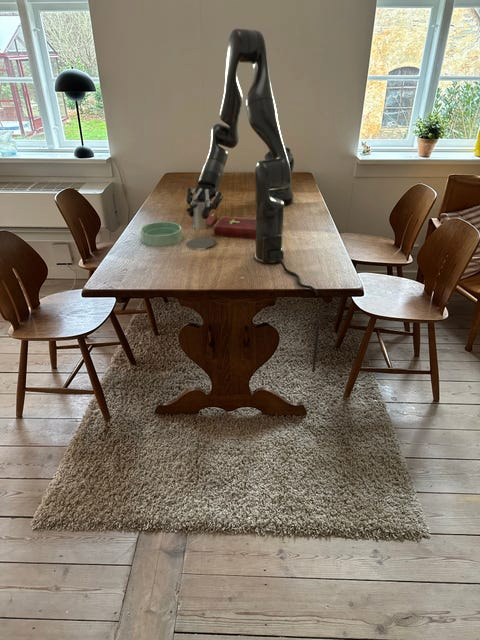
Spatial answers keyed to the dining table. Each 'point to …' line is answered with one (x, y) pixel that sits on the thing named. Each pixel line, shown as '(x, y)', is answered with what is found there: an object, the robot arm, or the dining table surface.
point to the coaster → (201, 243)
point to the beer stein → (284, 193)
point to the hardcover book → (235, 227)
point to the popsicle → (211, 220)
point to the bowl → (161, 233)
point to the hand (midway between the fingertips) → (197, 216)
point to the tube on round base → (198, 214)
